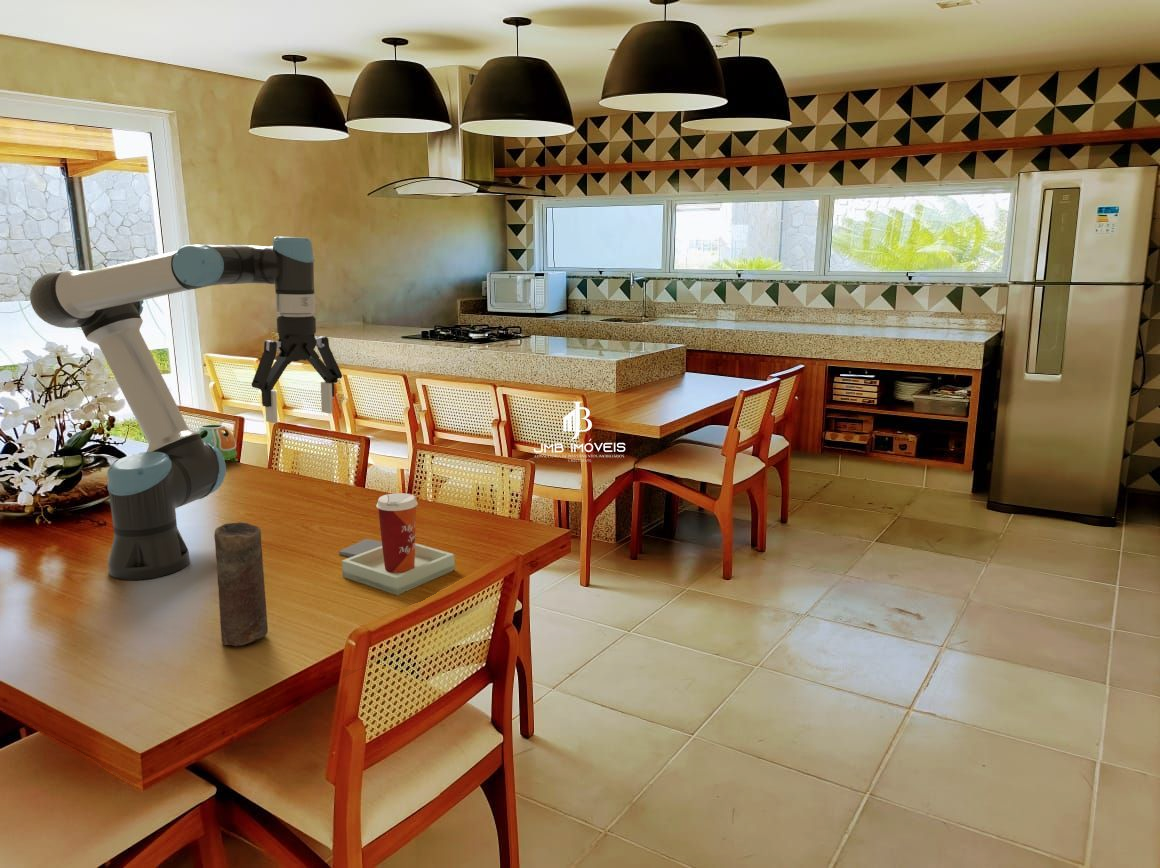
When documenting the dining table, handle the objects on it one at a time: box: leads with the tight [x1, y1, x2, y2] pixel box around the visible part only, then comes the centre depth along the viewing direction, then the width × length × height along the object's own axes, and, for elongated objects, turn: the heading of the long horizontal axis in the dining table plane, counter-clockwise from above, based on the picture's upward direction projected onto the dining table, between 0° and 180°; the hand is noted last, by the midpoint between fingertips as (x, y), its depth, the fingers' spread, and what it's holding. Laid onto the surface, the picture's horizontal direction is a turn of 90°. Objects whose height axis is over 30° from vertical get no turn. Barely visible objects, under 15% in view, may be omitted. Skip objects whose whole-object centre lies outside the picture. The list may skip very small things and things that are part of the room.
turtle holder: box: [195, 423, 239, 463], centre depth 258 cm, size 12×18×12 cm
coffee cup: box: [375, 492, 419, 573], centre depth 169 cm, size 8×8×15 cm
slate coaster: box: [338, 538, 382, 558], centre depth 183 cm, size 9×9×1 cm
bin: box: [341, 542, 456, 596], centre depth 170 cm, size 16×16×4 cm
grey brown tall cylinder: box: [213, 521, 269, 647], centre depth 139 cm, size 8×7×20 cm
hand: (300, 417), depth 173 cm, fingers open, 13 cm apart
